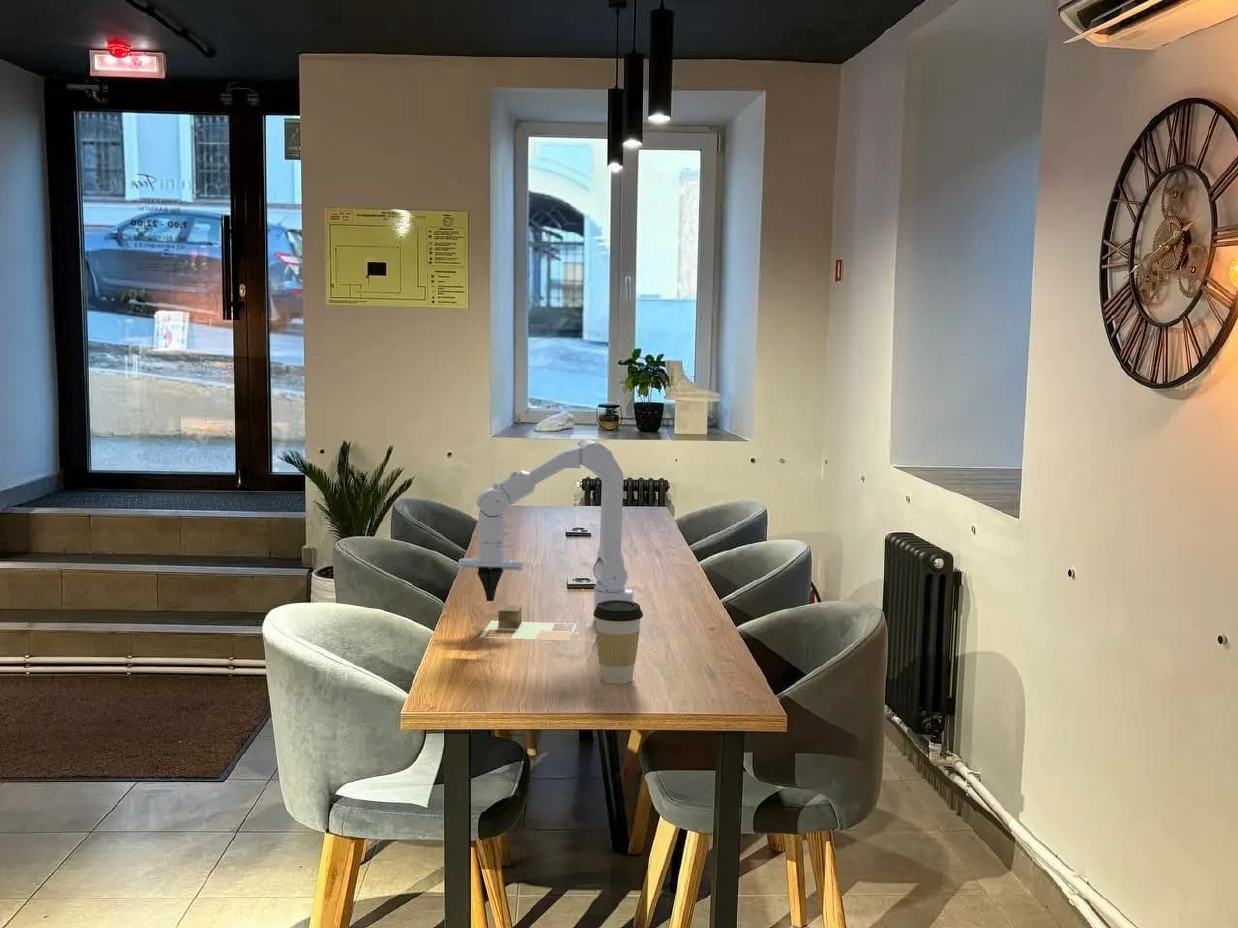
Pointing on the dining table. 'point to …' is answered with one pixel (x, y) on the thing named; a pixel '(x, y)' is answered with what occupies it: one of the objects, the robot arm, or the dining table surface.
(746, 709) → the dining table surface
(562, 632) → the board
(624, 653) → the coffee cup
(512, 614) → the block
